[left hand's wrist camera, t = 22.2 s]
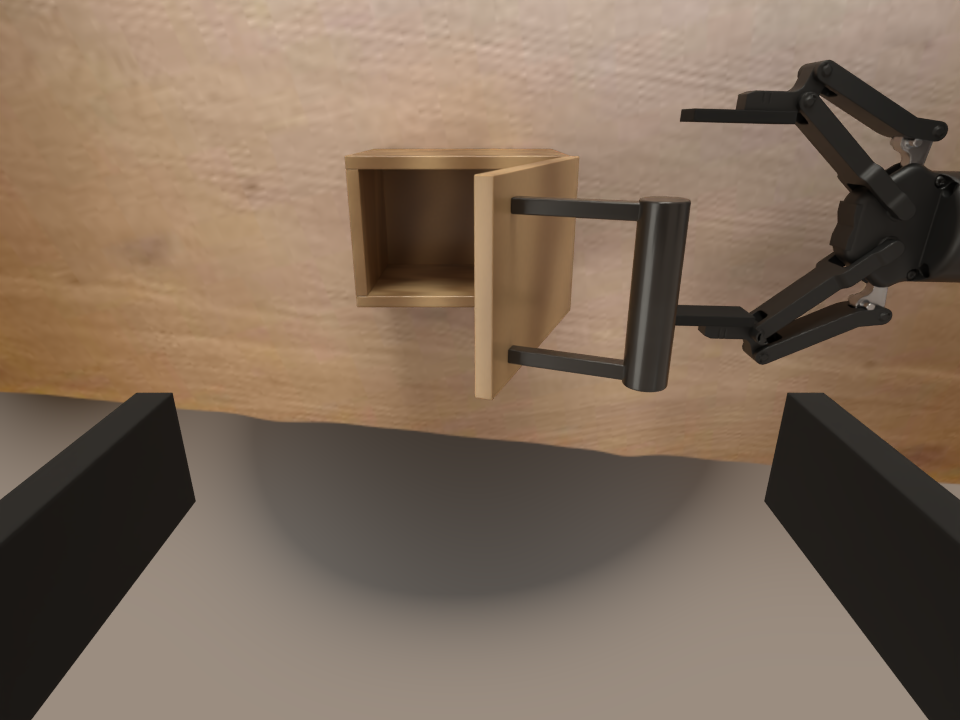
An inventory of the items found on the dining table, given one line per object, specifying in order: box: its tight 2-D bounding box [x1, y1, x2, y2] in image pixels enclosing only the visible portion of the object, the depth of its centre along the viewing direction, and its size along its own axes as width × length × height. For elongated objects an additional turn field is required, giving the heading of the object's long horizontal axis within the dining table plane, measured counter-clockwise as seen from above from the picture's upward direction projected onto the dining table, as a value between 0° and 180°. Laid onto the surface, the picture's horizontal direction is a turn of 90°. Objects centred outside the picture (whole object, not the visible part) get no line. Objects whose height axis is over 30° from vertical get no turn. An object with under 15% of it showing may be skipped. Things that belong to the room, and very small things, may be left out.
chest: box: [345, 149, 569, 307], centre depth 42 cm, size 14×10×10 cm
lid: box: [474, 156, 691, 400], centre depth 30 cm, size 15×10×8 cm
